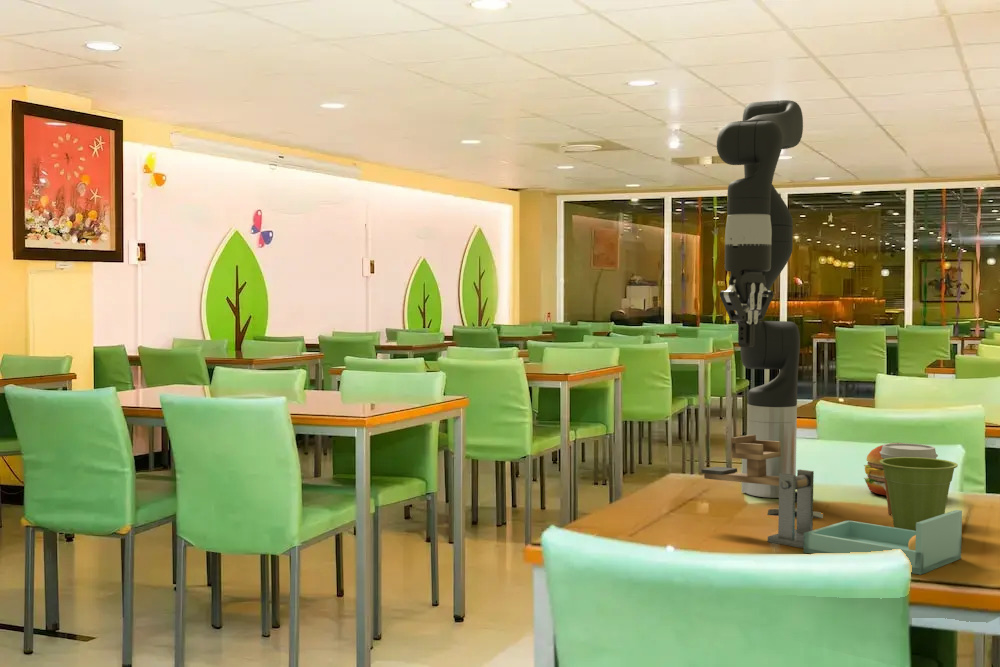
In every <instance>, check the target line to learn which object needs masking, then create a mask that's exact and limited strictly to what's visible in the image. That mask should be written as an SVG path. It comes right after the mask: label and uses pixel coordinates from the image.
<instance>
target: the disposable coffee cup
mask: <svg viewBox="0 0 1000 667" xmlns="http://www.w3.org/2000/svg"><path fill="white" fill-rule="evenodd" d="M889 443H890V442H889ZM889 443H884V444H882V445H883V446H882V450H881V451H880V454H881V457H882V459H885V458H894V457H920V458H932V459H937V458H938V457H939V454H937V451H936V447H935V446H933V445H928V444H921V443H920V444H919V443H904V442H891V443H890V444H889ZM884 478H885V474H884ZM885 487H886V495H887V496H886V495H885V496H886V501H887V502H886V504H887V513H889V515H890V514H892V511H891V504H890V498H889V492H888V485H887V479H886V478H885Z"/></svg>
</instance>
